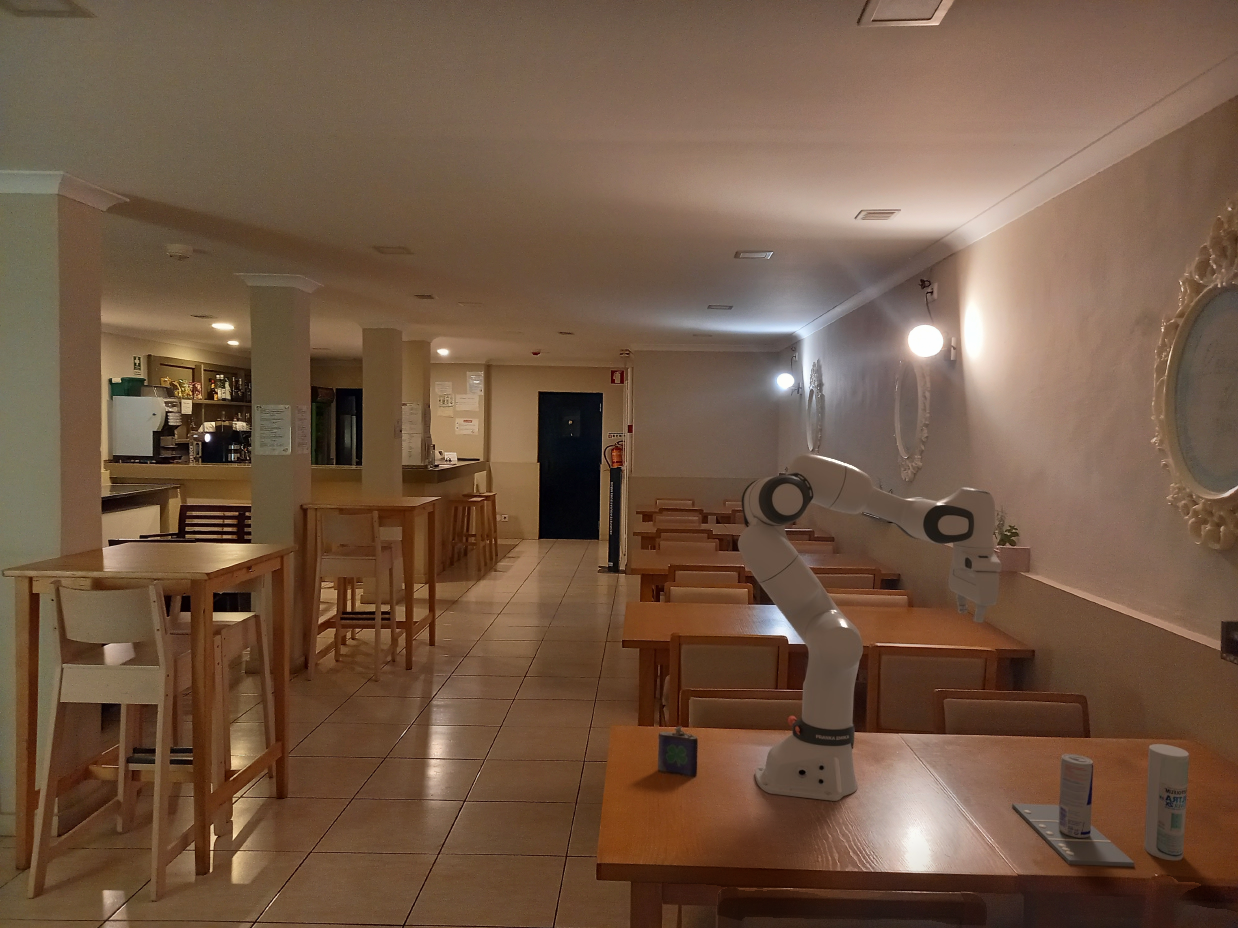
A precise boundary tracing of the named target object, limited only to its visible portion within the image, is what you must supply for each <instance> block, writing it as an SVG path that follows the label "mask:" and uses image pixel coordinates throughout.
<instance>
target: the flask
mask: <svg viewBox="0 0 1238 928" xmlns="http://www.w3.org/2000/svg"><path fill="white" fill-rule="evenodd" d="M682 728H683V726H682V725H679V726H676V728H674V730H675V732H672V731H660V732H659V733H658V754H657V771H658V772H660V773H663V774H669V775H672V776H673V775H674V776H682V777H683V776H684V777H687V778H696V777H697V774H698V743H699V742H698V737H697V736H696V735H693V734H691V733H687V732H685V731H684V730H681V729H682Z"/></svg>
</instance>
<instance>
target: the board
mask: <svg viewBox="0 0 1238 928" xmlns="http://www.w3.org/2000/svg"><path fill="white" fill-rule="evenodd" d="M1011 807H1012V808H1013V810H1014V811H1015V812H1016V813H1017V814H1018V815H1019V816H1020V817H1021V818H1022V819H1023V820H1024V821H1025V822H1026V823H1028V824H1029V826H1030V827H1031V828H1032V829H1033V830H1034V831H1036V833H1037V834H1038V835H1039V836H1040V837H1041V838H1042V839H1043V840H1044V841H1045V842H1046V843H1047V844H1048V846H1050V847H1051V848H1052V849H1053V850H1054V851H1055V852H1056V853H1057V854H1058V855H1059V856H1060V857H1061V858H1062V859H1063V860H1064V861H1065V862H1066V863H1067V864H1068V865H1080V866H1081V865H1082V866H1110V867H1131V868H1132V867H1133V868H1134V867H1135V861H1134V860H1132V859H1131V858H1130V857H1129V856H1128V855H1126V854H1125V853H1124V852H1123V851H1122V850H1121V849H1120V848H1119V847H1117V845H1116V844H1114V843H1113V842H1112V841H1111V840H1110V839H1108V838H1107V837H1106V836H1105V835H1104V834H1102V833H1101V831H1099V830H1098V829H1097V828H1095V827H1094V826H1093V825H1092V824H1091V832H1090V836H1088V837H1086V838H1076V837H1072V836H1069V835H1066V834H1064V833H1063V832H1062V831H1061V830H1060V829H1059V804H1035V803H1033V804H1032V803H1012V805H1011Z"/></svg>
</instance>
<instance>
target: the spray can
mask: <svg viewBox="0 0 1238 928" xmlns="http://www.w3.org/2000/svg"><path fill="white" fill-rule="evenodd" d="M1147 762H1148V763H1147V786H1146V787H1147V788H1146V804H1145V805H1146V807H1145V830H1144V850H1145V851H1146V852H1147V853H1148V854H1149V855H1152V856H1154V857H1156V858H1159V859H1161V860H1166V861H1167V860H1168V861H1180V860H1182V859H1183V857H1184V845H1185V844H1184V842H1185V829H1186V814H1187V813H1186V812H1187V797H1188V781H1189V766H1190V753H1189V752H1188V751H1187V750H1185V749H1184V748H1180V747H1177V746H1174V745H1170V744H1163V743H1162V744H1161V743H1156V744H1155V743H1153V744H1150V745H1149V746H1148V761H1147Z"/></svg>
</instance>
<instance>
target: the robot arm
mask: <svg viewBox="0 0 1238 928" xmlns="http://www.w3.org/2000/svg"><path fill="white" fill-rule="evenodd" d="M740 503H741V511H742V513H743V521H744V525H745V526H746V528H745V529H744V530H743V531H742V532H741V534H740V536H739V537H738V538H739V539H738V541H737V547H738V551H739V552H740V555H741V556H742V559H743V561H744V563H745V564H746V566H747V568H748V569H749V571H750V572H751V574H752V575H753V577H754V578H755V579H756V581H757V582H758V584H759V585H760V587H761V588H762V589H763V590H764V591H765V593H766V594H767V596H768V597H769V598H770V600H771V601H772V602H773V604H774V605H775V606H776V607H777V609H778V610H779V612H780V613H781V614H782V615H783V616H784V618H785V619H786V621H787V622H788V623H789V625H790V626H791V627H792V628H793V630H794V631H795V632H796V634H797V635H798V637H799V638H800V639H801V641H802V642H803V643H804V645H805V646H806V647H807V650H808V660H807V669H806V674H805V679H804V681H803V684H802V702H801V703H802V704H801V706H802V707H801V709H802V710H801V717H800V718H798V719H797V718H796V716H794V715H790V716H789V717H788V718H787V722H788V724H789V726H790V727H791V728H792V732H791V733H792V734H790V735H788V736H787V737H785V738H784V739H782V740H781V741H779V742H777V743H776V744H775V745H773V746H771V748H770V749H769V750H768V753H767V756H766V761H765V764H762V765H759V766H758V767H757V768H756V769H755V776H754V777H755V778H754V779H755V781H756V783H757V785H758V786H759V788H761V789H762V790H763V791H764V792H766V793H768V794H771V795H780V796H788V797H797V798H798V797H799V798H806V799H807V798H808V799H815V800H823V801H833V802H836V801H837V802H838V801H839V800H840V799H842V798H843V797H844V796H849V795H851V794H852V793H854V792H856V791H857V789H858V787H859V786H858V782H857V779H856V773H855V768H854V767H855V766H854V758H853V757H854V756H853V750H854V744H855V731H856V730H855V724H854V722H853V716H854V715H853V714H854V713H853V712H854V711H853V710H854V696H855V695H854V694H855V693H854V692H855V684H856V679H857V674H858V670H859V665H860V660H861V658H862V655H863V652H864V644H863V639H862V636H861V635H862V634H861V633H860V630H859V629H858V627H856V625H855V624H854V623H852V621H850V619H848V617H847V616H846V615H845V614H844V613H843V612H842V611H841V609H839V607H838V605H837V604H836V603H835V602H834V600H833V599H832V597H831V596H830V594H829V593H828V592H827V590H826V589H825V588H824V586H823V584H822V583H821V581H820V579H818V577H817V576H816V574H815V573H814V572H813V571H812V569H811V568H810V567H809V565H808V564H807V562H806V561H805V560H804V559H803V557H802V556H801V555H800V553H799V552H798V551H797V549H796V548H795V547H794V545H792V543H791V542H790V539H789V538H788V536H787V532H786V528H785V527H786V525H789V524H792V523H795V522H796V521H797V520H798V519H800V517H802V515H803V514H804V513H805V511H806V509H807V508H808V506H809V505H810V504H815V505H818V506H820V507H823V508H826V509H827V510H832V511H835V512H838V513H843V514H849V515H857V514H860V513H866V514H870V515H873V516H874V517H877V518H881V519H883V520H886V521H888V522H891V523H892V524H894V525H896V527H897V528H898V529H900V531H902V533H904V535H906V536H908V537H909V538H912V539H916V540H920V541H921V540H923V541H925V542H929V543H933V544H937V545H946V544H952V559H951V560H952V561H951V562H950V566H949V571H948V574H949V575H948V588H949V590H950V591H952V592H953V593H955V600H956V603H957V612H958V613H960V614H962V615H963V614H964V615H965V614H967V613H968V608H969V607H968V605H967V599H968V600H969V601H972V602H973V603H974V608H975V611H974V612H975V613H973V619H972V620H973V622H975V623H977V624H978V623H980V624H981V623H984V620H985V614H986V612H987V610H988V607H990V606H991V607H992V606H993V607H994V606H995V605H996V604H997V602H998V598H999V588H1000V574H999V572H1002V567H1003V564H1002V562H1001V561H1000V559H999V558H998V557H997V555H996V553H995V542H994V532H995V530H996V506H995V505H996V504H995V500H994V496H993V495H992V494H991V493H990V492H988V491H985V490H981V489H977V488H972V487H960V488H958V490H956V491H955V492H954V493H952V494H950V495H949V496H947V497H943V498H942V499H939V500H933V499H928V498H925V497H919V496H918V497H917V496H915V497H910V498H907V497H901V496H898V495H895V494H893V493H890V492H887V491H884V490H882V489H879V488H878V487H875V486H874V483H873V480H872V478H871V476H870V475H869V474H867V473H866V472H864V471H862V470H861V469H859V468H857V467H855V466H853V465H851V464H848V463H845V462H842V461H840V460H838V459H837V460H836V459H833V458H830V457H826V456H822V455H816V454H810V453H803V454H800V455H797V456H796V457H795V458H794V459H793V460H792V462H790V465H789V466H788V468H787V472H786V473H785V474H780V475H776V476H774V475H773V476H766V477H765V476H764V477H762V478H758V479H756V480H754V481H752V482H751V483H749V485H747V486H746V487H745V489H744V490H743V492H742V495H741V502H740Z"/></svg>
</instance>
